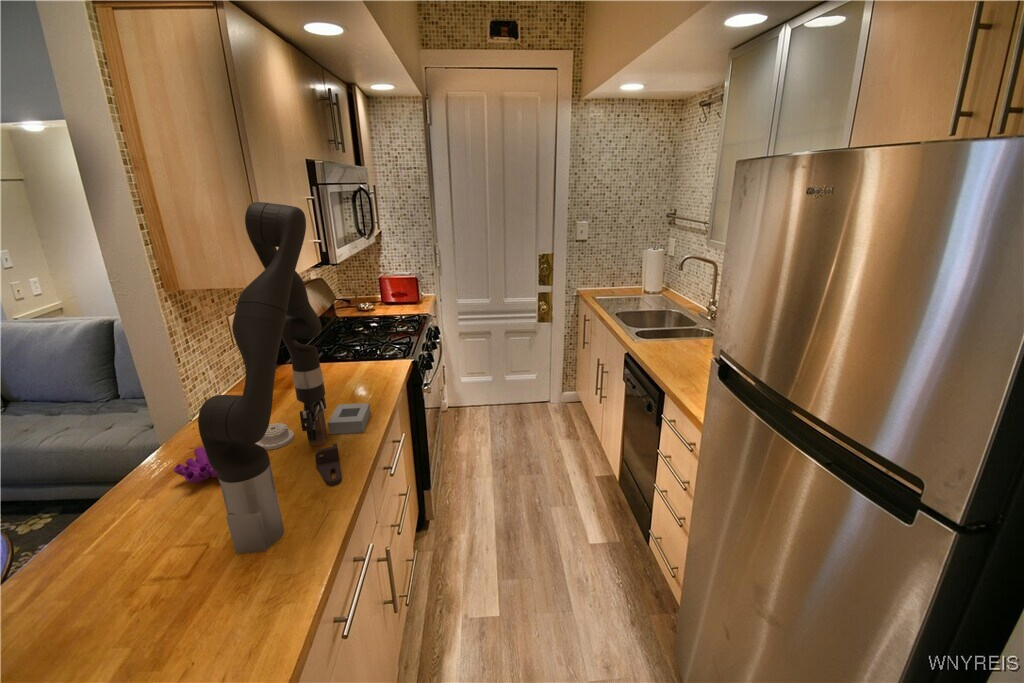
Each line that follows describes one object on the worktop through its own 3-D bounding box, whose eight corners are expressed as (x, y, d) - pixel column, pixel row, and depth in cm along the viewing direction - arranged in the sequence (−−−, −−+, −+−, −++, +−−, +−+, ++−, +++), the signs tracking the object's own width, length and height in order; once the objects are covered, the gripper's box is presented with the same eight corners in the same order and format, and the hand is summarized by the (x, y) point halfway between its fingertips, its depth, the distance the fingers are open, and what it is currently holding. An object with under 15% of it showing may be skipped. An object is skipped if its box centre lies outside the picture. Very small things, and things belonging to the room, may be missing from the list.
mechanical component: (248, 448, 129) (278, 452, 127) (245, 435, 128) (276, 439, 126) (272, 431, 138) (301, 434, 136) (270, 418, 137) (298, 421, 135)
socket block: (363, 432, 137) (361, 421, 136) (329, 434, 136) (327, 422, 135) (370, 413, 148) (369, 403, 147) (339, 415, 147) (338, 404, 146)
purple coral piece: (236, 469, 125) (251, 446, 122) (199, 505, 111) (216, 480, 108) (199, 448, 123) (213, 423, 120) (156, 482, 109) (172, 455, 106)
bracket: (317, 490, 111) (315, 473, 110) (316, 463, 122) (314, 447, 120) (342, 484, 114) (340, 468, 112) (339, 458, 124) (337, 443, 123)
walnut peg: (323, 445, 130) (318, 414, 127) (309, 446, 130) (304, 415, 127) (327, 437, 134) (323, 408, 131) (313, 438, 134) (308, 408, 130)
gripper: (314, 392, 119) (323, 445, 125) (329, 371, 133) (336, 420, 138) (285, 393, 119) (295, 446, 124) (303, 372, 132) (311, 421, 137)
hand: (317, 432), depth 131 cm, fingers open, 8 cm apart
